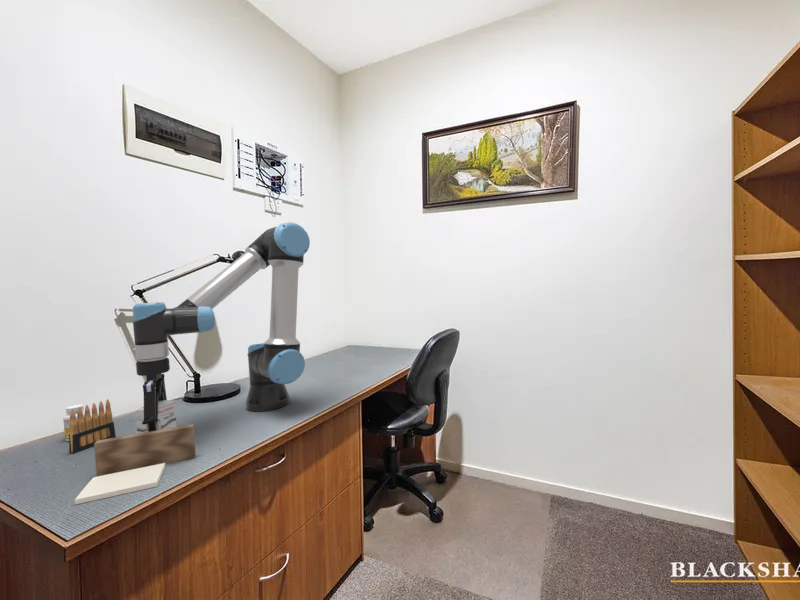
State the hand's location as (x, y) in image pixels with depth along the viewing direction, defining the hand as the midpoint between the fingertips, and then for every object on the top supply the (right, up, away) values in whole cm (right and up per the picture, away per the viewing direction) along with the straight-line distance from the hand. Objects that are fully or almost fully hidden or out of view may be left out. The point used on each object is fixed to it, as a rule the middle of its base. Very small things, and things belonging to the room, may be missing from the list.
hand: (158, 439), depth 100 cm
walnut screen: (+5, -2, -11) cm, 12 cm away
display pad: (+5, -2, -19) cm, 20 cm away
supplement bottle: (-32, -4, +10) cm, 33 cm away
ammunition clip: (-21, -3, +4) cm, 22 cm away
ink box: (0, -2, 0) cm, 2 cm away
